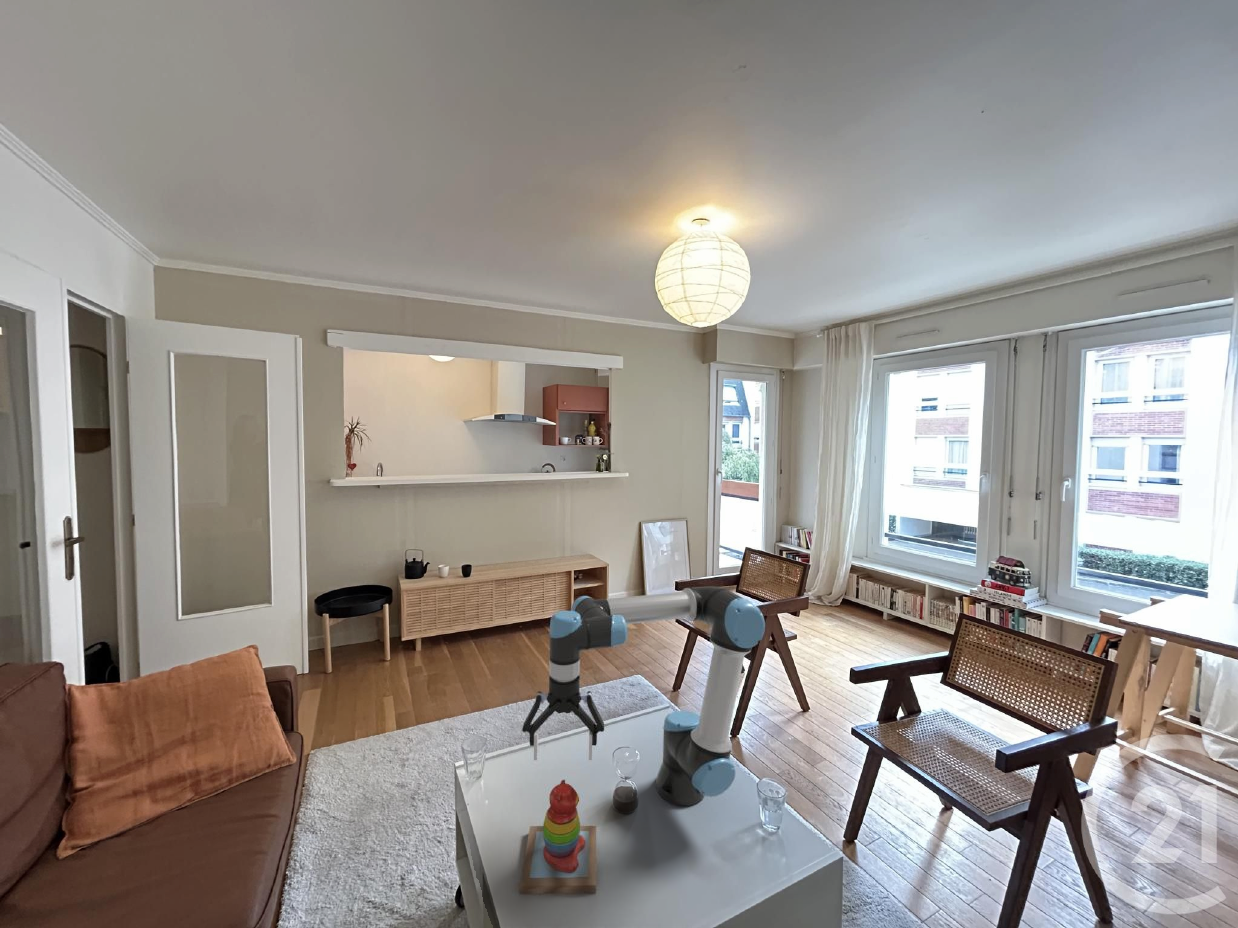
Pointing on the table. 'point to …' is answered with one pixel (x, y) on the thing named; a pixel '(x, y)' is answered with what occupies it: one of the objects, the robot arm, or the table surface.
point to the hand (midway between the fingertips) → (563, 756)
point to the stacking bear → (562, 829)
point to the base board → (550, 880)
